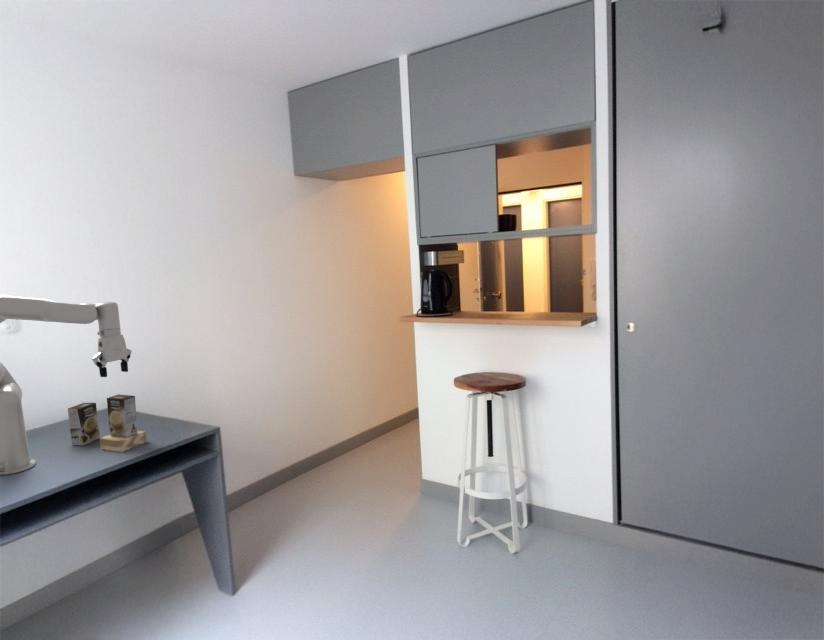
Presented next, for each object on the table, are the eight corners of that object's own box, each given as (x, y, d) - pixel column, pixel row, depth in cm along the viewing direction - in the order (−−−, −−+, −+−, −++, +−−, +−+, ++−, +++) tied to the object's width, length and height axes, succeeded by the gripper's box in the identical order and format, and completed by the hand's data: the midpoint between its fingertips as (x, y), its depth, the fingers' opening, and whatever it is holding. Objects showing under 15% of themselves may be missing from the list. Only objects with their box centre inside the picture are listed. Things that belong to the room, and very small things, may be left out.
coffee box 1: (84, 445, 223) (79, 408, 221) (71, 445, 224) (66, 408, 222) (101, 437, 232) (96, 402, 230) (88, 437, 233) (83, 401, 231)
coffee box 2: (108, 435, 219) (105, 397, 218) (121, 431, 226) (118, 394, 224) (126, 437, 217) (123, 399, 215) (138, 432, 223) (135, 395, 221)
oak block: (122, 453, 214) (120, 441, 213) (100, 450, 218) (99, 438, 218) (146, 442, 225) (145, 431, 224) (126, 439, 229) (124, 428, 229)
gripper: (97, 336, 206) (101, 379, 208) (135, 329, 221) (139, 370, 224) (83, 335, 208) (88, 378, 210) (122, 329, 224) (126, 369, 226)
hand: (114, 374), depth 217 cm, fingers open, 9 cm apart
